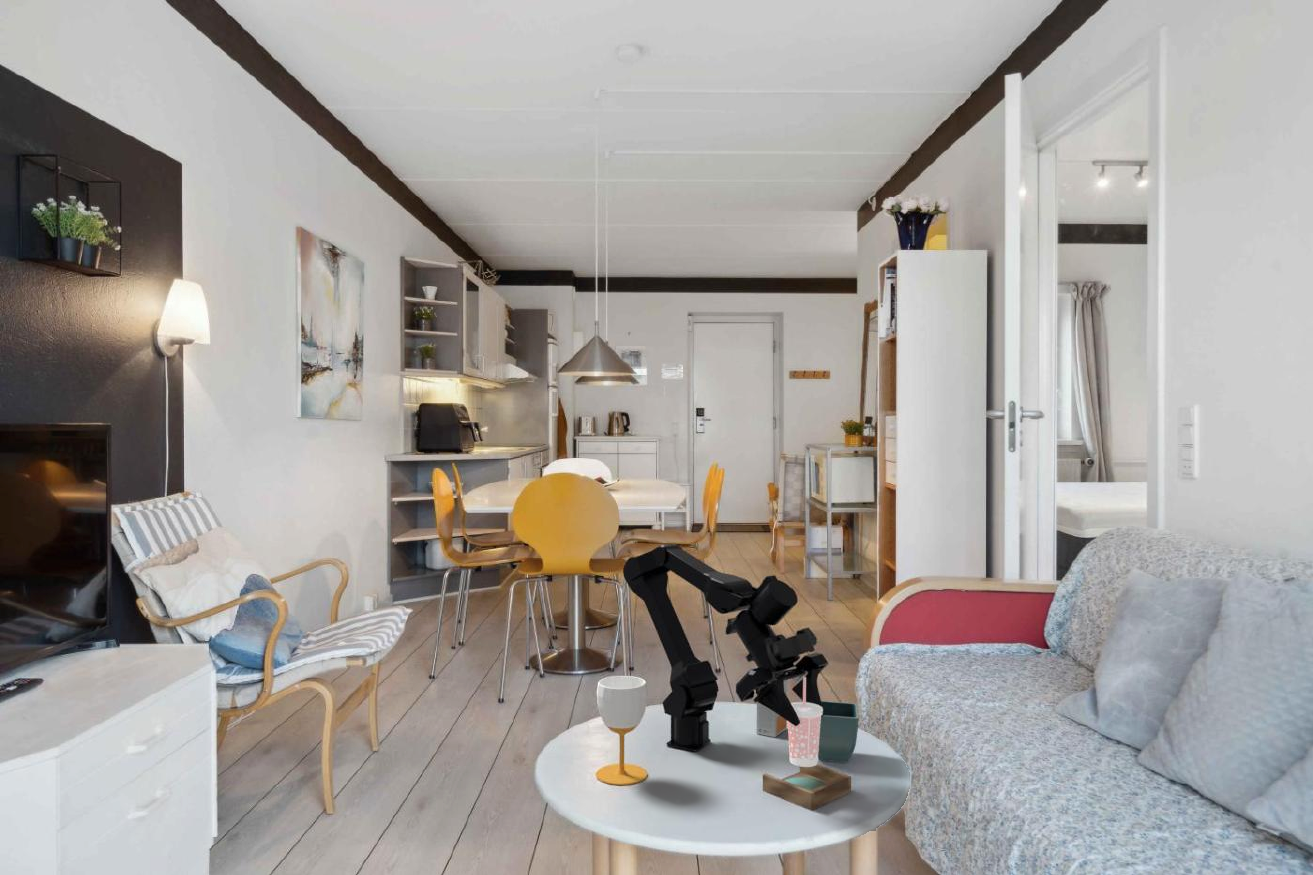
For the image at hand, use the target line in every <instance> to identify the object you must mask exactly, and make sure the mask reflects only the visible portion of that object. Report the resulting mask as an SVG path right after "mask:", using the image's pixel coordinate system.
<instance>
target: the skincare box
mask: <svg viewBox="0 0 1313 875" xmlns="http://www.w3.org/2000/svg"><path fill="white" fill-rule="evenodd" d="M786 674H788V673H786ZM784 692H785V694H786V696H787V697H788V680H785V681H784ZM787 729H788V721H787V720H786V719H784V718H783V717H781V716H780V715H778V714H777V713H775V712H774V711H772V710H770V709H769V708H767V707H765V706H764V705H762V704H760V703H758V702H756V732H755V733H756V734H758V735H762V736H767V737H771V738H776V737H778V735H780V734H781V733H783V732H784V731H786V730H787Z"/></svg>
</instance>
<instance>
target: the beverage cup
mask: <svg viewBox="0 0 1313 875" xmlns="http://www.w3.org/2000/svg"><path fill="white" fill-rule="evenodd" d="M790 703H791V705H792V706H793V708H794V710H795V712H796V714H797V716H798V718H799V720H800V724H799V725H798V726H794V725H793V724H792V723H790V722H789V721H787V729H788V730H787V732H788V733H787V734H788V749H789V750H788V751H789V752H788V754H789V762H790V764H792V765H794V766H796V767H799V768H800V767H813V766H815V765H817V764H818V765H819V763H818V762H819V758H818V750H819V737H820V724H821V715H822V714H823V713H822V712H823V708H822V707H821V706H819V705H817V704H814V703H808V702H806V677H803V701H794V702H790Z"/></svg>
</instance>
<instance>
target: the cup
mask: <svg viewBox="0 0 1313 875" xmlns="http://www.w3.org/2000/svg"><path fill="white" fill-rule="evenodd" d="M596 686H597V688H596V701H597V709H598V712H599V716H600V717H601V720H602V722H603V724H604V725H605V727H607V728H608V729H609V730H610V731H611V732H612V733H616V734H617V735H618V736H619V754H618V756H619V760H618V762H619V763H613V764H609V765H605V766H603V767H601V768H599V769H597V771H596V773H595V777H596V779H597V780H598V781H600V782H602V783H604V784H607V785H610V786H630V785H635V784H638V783H641V782H643V781H645V780H646V779H647V777H648V771H647V770H646V769H645V768H643V766H641V765H637V764H631V763H625V735H627V734H628V733H631V732H633V731H634V730H635V729H636V728H637V727H638V726H639V725H640V724H641V722H642V720H643V717H644V715H645V713H646V709H647V704H648V696H649V694H648V693H649V692H648V685H647V682H646V680H645V679H643V678H641V677H638V676H632V675H612V676H606V677H604V678H602V679H600V680H598V682H597V685H596Z"/></svg>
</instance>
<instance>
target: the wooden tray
mask: <svg viewBox="0 0 1313 875" xmlns="http://www.w3.org/2000/svg"><path fill="white" fill-rule="evenodd" d="M762 791H763V792H765V793H767V794H770V795H773V796H775V797H776V798H777V797H778V798H780V799H782V800H784V801H787V802H789V803H791V804H792V803H793V804H795V805H797V806H798V807H799V806H800V807H803V808H804V809H807V810H809V811H814V810H815V809H818V808H819V807H821V806H824V805H826V804H828V803H831V802H833V801H835V800H838V799H839V798H841V797H844V796H846V795H847V794H850V793H851V792H852V776H851V775H849V774H846V773H844V772H840V771H838V770H835V769H833V768H829V767H827V766H824V765H820V764H819V763H818V764H817V765H815V766H813V767H800V766H799V771H798V772H796V773H793V774H791V775H788V776H786V777H784V778H779V777H776V776H773V775H771V774H768V773H764V774H762Z"/></svg>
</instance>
